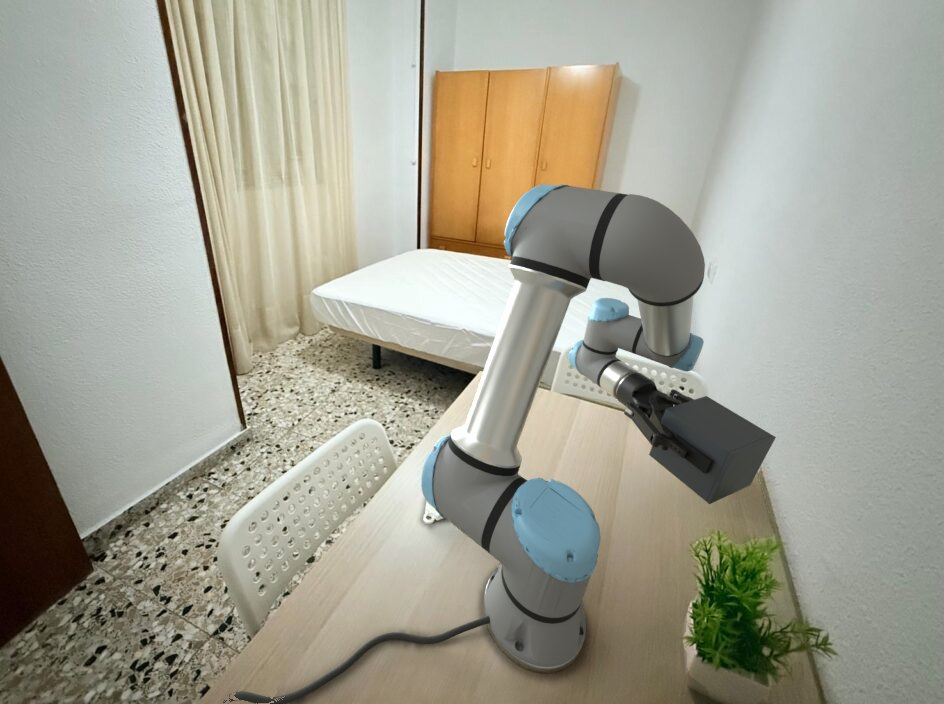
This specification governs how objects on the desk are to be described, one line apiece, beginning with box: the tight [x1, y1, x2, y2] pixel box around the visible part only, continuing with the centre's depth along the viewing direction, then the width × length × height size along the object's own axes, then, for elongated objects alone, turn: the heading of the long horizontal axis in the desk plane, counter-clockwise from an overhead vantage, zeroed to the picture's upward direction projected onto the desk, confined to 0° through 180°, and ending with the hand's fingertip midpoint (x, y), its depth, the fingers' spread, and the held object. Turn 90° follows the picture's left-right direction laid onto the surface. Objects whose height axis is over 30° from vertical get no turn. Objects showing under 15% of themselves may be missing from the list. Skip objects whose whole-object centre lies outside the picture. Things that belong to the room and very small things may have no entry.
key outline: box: [422, 500, 444, 525], centre depth 80 cm, size 13×5×2 cm, turn 114°
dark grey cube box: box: [648, 395, 777, 505], centre depth 71 cm, size 12×11×11 cm
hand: (732, 457), depth 68 cm, fingers closed on dark grey cube box, 11 cm apart
